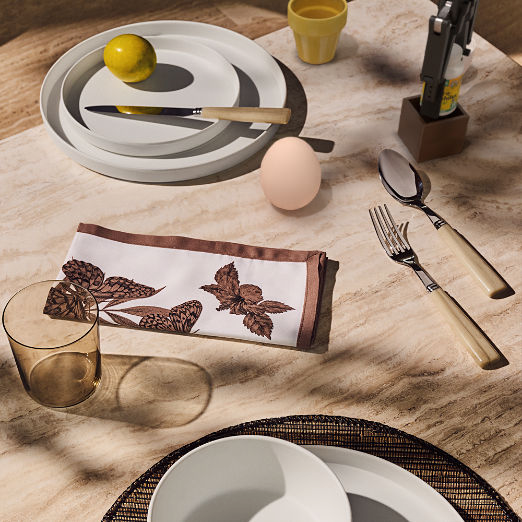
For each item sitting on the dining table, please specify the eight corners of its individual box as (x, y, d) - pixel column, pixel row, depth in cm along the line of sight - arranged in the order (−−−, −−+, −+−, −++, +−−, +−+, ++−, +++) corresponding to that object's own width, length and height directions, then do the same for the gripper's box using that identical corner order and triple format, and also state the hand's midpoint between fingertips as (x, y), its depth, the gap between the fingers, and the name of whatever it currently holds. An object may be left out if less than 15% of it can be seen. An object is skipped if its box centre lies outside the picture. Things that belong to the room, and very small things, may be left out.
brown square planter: (438, 124, 111) (446, 88, 105) (460, 152, 106) (470, 116, 101) (397, 134, 109) (402, 97, 104) (417, 163, 105) (424, 126, 99)
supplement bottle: (451, 94, 104) (463, 37, 97) (459, 116, 100) (472, 58, 93) (416, 96, 104) (425, 39, 97) (423, 118, 100) (433, 61, 93)
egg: (294, 233, 96) (295, 172, 87) (248, 205, 100) (245, 145, 91) (331, 199, 100) (336, 138, 91) (286, 174, 104) (286, 113, 95)
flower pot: (304, 33, 129) (305, -16, 122) (353, 47, 126) (357, -3, 118) (277, 61, 124) (277, 11, 116) (328, 76, 120) (331, 26, 113)
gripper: (467, -85, 91) (438, 66, 108) (408, -26, 81) (387, 129, 98) (522, -74, 88) (483, 80, 105) (468, -11, 78) (436, 146, 96)
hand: (437, 103), depth 102 cm, fingers closed on supplement bottle, 5 cm apart
